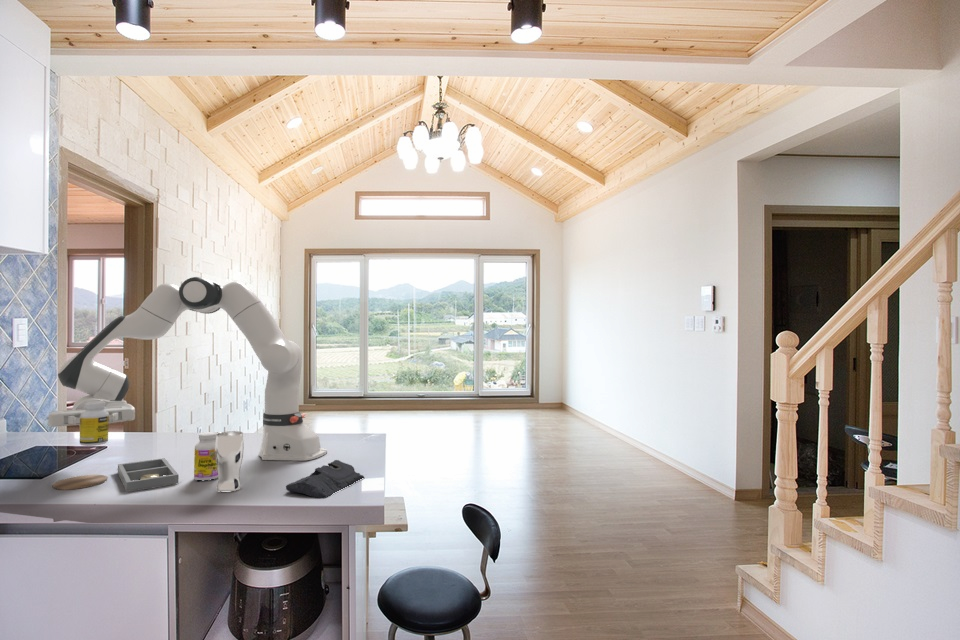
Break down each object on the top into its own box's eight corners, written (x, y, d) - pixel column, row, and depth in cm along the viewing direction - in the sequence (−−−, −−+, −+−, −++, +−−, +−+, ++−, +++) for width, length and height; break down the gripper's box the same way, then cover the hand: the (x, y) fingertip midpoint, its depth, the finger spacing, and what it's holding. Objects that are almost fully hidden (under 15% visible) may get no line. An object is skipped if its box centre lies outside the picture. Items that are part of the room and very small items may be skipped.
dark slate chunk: (275, 495, 138) (275, 477, 138) (324, 473, 159) (324, 457, 159) (325, 501, 133) (325, 482, 133) (368, 477, 154) (369, 461, 154)
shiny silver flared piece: (234, 483, 146) (235, 429, 146) (248, 488, 142) (248, 433, 142) (209, 490, 140) (210, 433, 140) (222, 495, 136) (223, 437, 136)
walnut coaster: (117, 478, 150) (117, 476, 150) (76, 491, 138) (76, 489, 138) (84, 475, 152) (84, 473, 152) (41, 487, 141) (41, 485, 141)
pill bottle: (92, 447, 144) (93, 405, 144) (73, 445, 145) (74, 403, 145) (113, 442, 150) (114, 401, 150) (95, 440, 151) (96, 400, 151)
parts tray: (117, 472, 156) (117, 464, 156) (164, 466, 163) (164, 458, 163) (126, 492, 138) (126, 482, 138) (178, 483, 145) (178, 474, 145)
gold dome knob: (162, 481, 148) (163, 474, 148) (150, 486, 144) (150, 478, 144) (149, 480, 149) (149, 473, 149) (136, 485, 145) (136, 477, 145)
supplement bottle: (193, 482, 146) (194, 436, 146) (194, 476, 152) (194, 432, 152) (220, 479, 149) (221, 434, 150) (219, 473, 155) (220, 430, 155)
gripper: (47, 405, 151) (46, 412, 140) (131, 399, 164) (137, 405, 153) (46, 427, 151) (46, 435, 140) (131, 420, 164) (137, 427, 153)
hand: (94, 420), depth 147 cm, fingers closed on pill bottle, 6 cm apart
